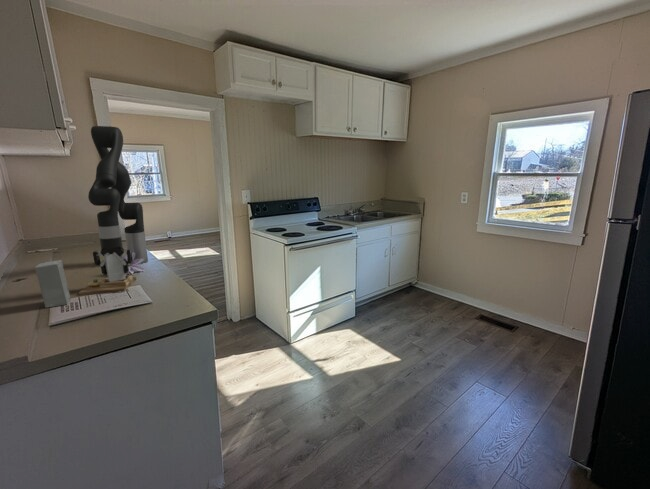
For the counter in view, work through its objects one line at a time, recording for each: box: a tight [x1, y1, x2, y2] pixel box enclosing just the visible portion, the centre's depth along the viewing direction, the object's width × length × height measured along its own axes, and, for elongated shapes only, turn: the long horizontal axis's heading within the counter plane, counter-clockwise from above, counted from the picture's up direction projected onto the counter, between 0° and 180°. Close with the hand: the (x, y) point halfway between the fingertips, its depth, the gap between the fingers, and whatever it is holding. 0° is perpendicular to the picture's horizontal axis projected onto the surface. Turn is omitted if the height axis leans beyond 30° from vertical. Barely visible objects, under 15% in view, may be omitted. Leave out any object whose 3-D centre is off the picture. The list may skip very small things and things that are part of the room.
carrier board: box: [78, 274, 137, 296], centre depth 131 cm, size 16×16×3 cm
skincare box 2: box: [103, 254, 126, 282], centre depth 131 cm, size 6×4×12 cm
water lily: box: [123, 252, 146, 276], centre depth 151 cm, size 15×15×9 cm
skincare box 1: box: [34, 259, 71, 308], centre depth 113 cm, size 8×7×16 cm
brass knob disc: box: [87, 278, 102, 287], centre depth 130 cm, size 5×5×2 cm
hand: (115, 273), depth 131 cm, fingers closed on skincare box 2, 7 cm apart
